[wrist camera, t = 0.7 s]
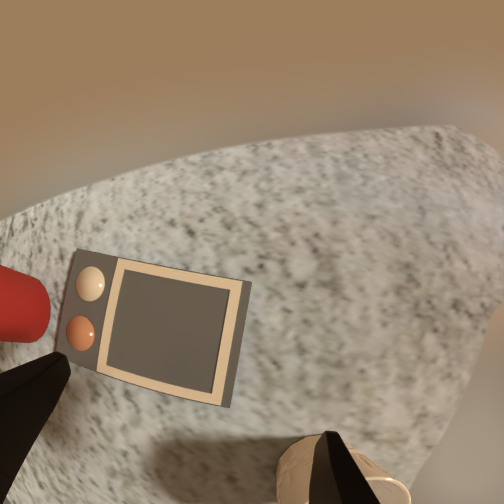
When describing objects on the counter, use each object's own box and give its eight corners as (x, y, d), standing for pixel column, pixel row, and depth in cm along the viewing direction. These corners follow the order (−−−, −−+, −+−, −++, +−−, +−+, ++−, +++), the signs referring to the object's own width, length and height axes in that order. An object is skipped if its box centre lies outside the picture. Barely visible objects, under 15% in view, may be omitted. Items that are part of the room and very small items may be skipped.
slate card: (230, 405, 21) (229, 408, 20) (61, 354, 22) (54, 355, 20) (251, 284, 24) (251, 281, 23) (82, 251, 24) (76, 247, 23)
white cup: (321, 510, 18) (351, 574, 8) (250, 478, 19) (251, 548, 10) (375, 448, 20) (433, 493, 10) (307, 411, 21) (344, 458, 11)
